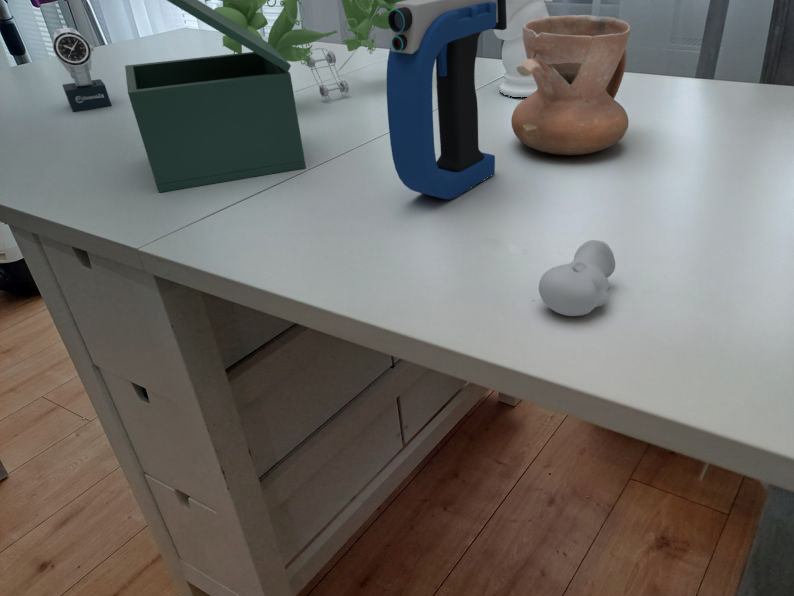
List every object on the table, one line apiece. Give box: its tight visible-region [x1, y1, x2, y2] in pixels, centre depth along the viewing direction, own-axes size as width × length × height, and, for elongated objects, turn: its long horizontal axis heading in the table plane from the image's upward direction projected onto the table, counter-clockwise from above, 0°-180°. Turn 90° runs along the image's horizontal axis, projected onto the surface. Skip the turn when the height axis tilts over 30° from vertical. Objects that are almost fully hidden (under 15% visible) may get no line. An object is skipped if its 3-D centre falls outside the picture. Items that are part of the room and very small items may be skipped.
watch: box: [52, 27, 112, 113], centre depth 100 cm, size 6×8×11 cm
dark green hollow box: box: [124, 51, 307, 193], centre depth 79 cm, size 17×13×11 cm
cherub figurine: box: [493, 0, 554, 98], centre depth 98 cm, size 12×12×22 cm
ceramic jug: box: [510, 14, 631, 156], centre depth 81 cm, size 18×14×14 cm
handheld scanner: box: [386, 0, 507, 200], centre depth 68 cm, size 5×16×20 cm, turn 146°
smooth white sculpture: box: [538, 239, 616, 317], centre depth 53 cm, size 4×8×5 cm
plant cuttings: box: [204, 0, 406, 101], centre depth 103 cm, size 35×17×22 cm
